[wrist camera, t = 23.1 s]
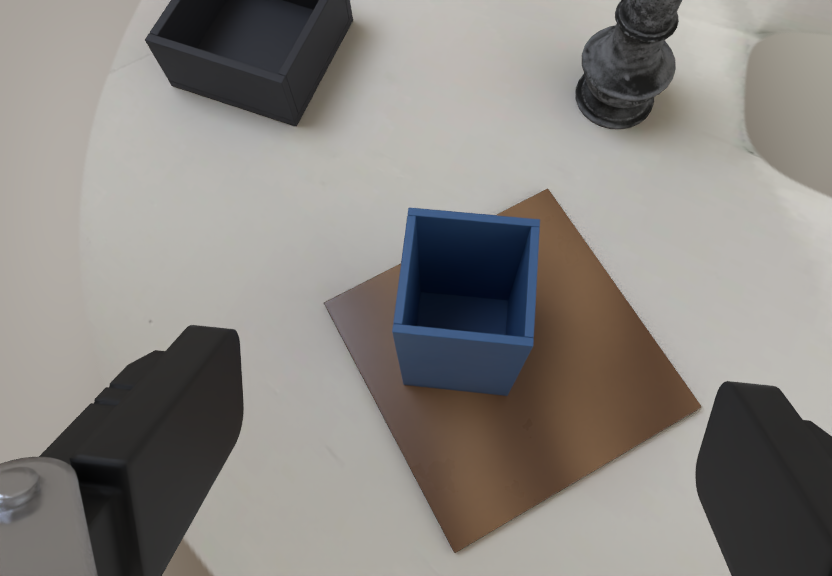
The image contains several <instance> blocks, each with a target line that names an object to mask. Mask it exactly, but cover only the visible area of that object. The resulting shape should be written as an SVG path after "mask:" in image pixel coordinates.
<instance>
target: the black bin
mask: <svg viewBox="0 0 832 576" xmlns="http://www.w3.org/2000/svg"><path fill="white" fill-rule="evenodd" d="M352 21H353V17H352V11H351V5H350V0H171V1H170V3H169V4H168V6H167V7H166V9H165V10H164V12H163V13H162V15H161V16H160V18H159V19H158V21H157V22H156V24H155V25H154V27H153V28H152V30H151V31H150V34H148V36H147V37H146V39H145V41H146V43H147V44H148V46H149V48H150V49H151V51H152V53H153V55H154V56H155V58H156V60H157V61H158V63H159V65H160V66H161V68H162V70H163V72H164V73H165V75H166V77H167V78H168V80H169V82H170V83H171V85H172V86H175V87H178V88H181V89H184V90H187V91H190V92H193V93H196V94H199V95H202V96H205V97H208V98H211V99H214V100H217V101H220V102H223V103H227V104H230V105H233V106H236V107H239V108H242V109H245V110H248V111H251V112H254V113H257V114H260V115H263V116H266V117H269V118H272V119H275V120H278V121H281V122H284V123H288V124H291V125H294V126H297V124H298V122H299V120H300V119H301V117H302V115H303V113H304V111H305V109H306V107H307V105H308V104H309V102H310V100H311V98H312V96H313V94H314V92H315V90H316V89H317V87H318V85H319V83H320V81H321V79H322V77H323V76H324V74H325V72H326V70H327V68H328V66H329V64H330V62H331V61H332V59H333V57H334V55H335V53H336V51H337V49H338V47H339V46H340V44H341V42H342V40H343V38H344V36H345V34H346V32H347V31H348V29H349V27H350V25H351V23H352Z"/></svg>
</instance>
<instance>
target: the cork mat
mask: <svg viewBox="0 0 832 576" xmlns="http://www.w3.org/2000/svg"><path fill="white" fill-rule="evenodd" d="M497 216H508V217H519V218H530V219H540V227H539V228H540V232H539V251H538V269H537V288H536V306H535V325H534V343H533V348H532V350H531V351H530V353H529V355H528V357H527V359H526V361H525V363H524V365H523V367H522V369H521V371H520V373H519V375H518V376H517V378H516V380H515V382H514V384H513V386H512V388H511V390H510V392H509V394H508V396H503V395H494V394H485V393H475V392H466V391H457V390H447V389H438V388H429V387H420V386H410V385H404V384H403V380H402V375H401V371H400V366H399V361H398V357H397V352H396V347H395V343H394V338H393V333H392V328H393V321H394V313H395V306H396V298H397V291H398V283H399V276H400V268H401V264H399V265H397V266H395V267H393V268H391V269H389V270H387V271H385V272H383V273H381V274H379V275H377V276H375V277H373V278H372V279H370V280H368V281H366V282H364V283H362V284H360V285H358V286H356V287H354V288H352V289H350V290H348V291H346V292H344V293H342V294H340V295H338V296H336V297H334V298H332V299H330V300H328V301H326V302H325V303H324V304H325V306H326V308H327V310H328V312H329V314H330V316H331V318H332V320H333V322H334V324H335V325H336V327H337V329H338V331H339V333H340V335H341V337H342V339H343V341H344V343H345V345H346V346H347V348H348V350H349V352H350V354H351V356H352V358H353V360H354V362H355V364H356V366H357V368H358V369H359V371H360V373H361V375H362V377H363V379H364V381H365V383H366V385H367V387H368V389H369V390H370V392H371V394H372V396H373V398H374V400H375V402H376V404H377V406H378V408H379V410H380V411H381V413H382V415H383V417H384V419H385V421H386V423H387V425H388V427H389V429H390V431H391V433H392V434H393V436H394V438H395V440H396V442H397V444H398V446H399V448H400V450H401V452H402V454H403V455H404V457H405V459H406V461H407V463H408V465H409V467H410V469H411V471H412V473H413V475H414V477H415V478H416V480H417V482H418V484H419V486H420V488H421V490H422V492H423V494H424V496H425V498H426V499H427V501H428V503H429V505H430V507H431V509H432V511H433V513H434V515H435V517H436V519H437V520H438V522H439V524H440V526H441V528H442V530H443V532H444V534H445V536H446V538H447V540H448V542H449V543H450V545H451V547H452V549H453V551H454V552H455V553H456V552H458V551H459V550H461V549H463V548H464V547H466V546H468V545H469V544H471V543H473V542H474V541H476V540H478V539H479V538H481V537H483V536H485V535H486V534H488V533H490V532H491V531H493V530H495V529H496V528H498V527H500V526H501V525H503V524H505V523H507V522H508V521H510V520H512V519H513V518H515V517H517V516H518V515H520V514H522V513H523V512H525V511H527V510H529V509H530V508H532V507H534V506H535V505H537V504H539V503H540V502H542V501H544V500H545V499H547V498H549V497H551V496H552V495H554V494H556V493H557V492H559V491H561V490H562V489H564V488H566V487H567V486H569V485H571V484H573V483H574V482H576V481H578V480H579V479H581V478H583V477H584V476H586V475H588V474H589V473H591V472H593V471H595V470H596V469H598V468H600V467H601V466H603V465H605V464H606V463H608V462H610V461H611V460H613V459H615V458H617V457H618V456H620V455H622V454H623V453H625V452H627V451H628V450H630V449H632V448H633V447H635V446H637V445H638V444H640V443H642V442H644V441H645V440H647V439H649V438H650V437H652V436H654V435H655V434H657V433H659V432H660V431H662V430H664V429H666V428H667V427H669V426H671V425H672V424H674V423H676V422H677V421H679V420H681V419H682V418H684V417H686V416H688V415H689V414H691V413H693V412H694V411H696V410H698V409H699V408H701V405H700V404H699V402H698V401H697V399H696V398H695V396H694V395H693V394H692V392H691V391H690V389H689V388H688V387H687V385H686V384H685V382H684V381H683V379H682V378H681V377H680V375H679V374H678V372H677V371H676V370H675V368H674V367H673V365H672V364H671V362H670V361H669V360H668V358H667V357H666V355H665V354H664V353H663V351H662V350H661V348H660V347H659V345H658V344H657V343H656V341H655V340H654V338H653V337H652V336H651V334H650V333H649V331H648V330H647V328H646V327H645V326H644V324H643V323H642V321H641V320H640V318H639V317H638V316H637V314H636V313H635V311H634V310H633V309H632V307H631V306H630V304H629V303H628V301H627V300H626V299H625V297H624V296H623V294H622V293H621V292H620V290H619V289H618V287H617V286H616V284H615V283H614V282H613V280H612V279H611V277H610V276H609V275H608V273H607V272H606V270H605V269H604V267H603V266H602V265H601V263H600V262H599V260H598V259H597V258H596V256H595V255H594V253H593V252H592V250H591V249H590V248H589V246H588V245H587V243H586V242H585V241H584V239H583V238H582V236H581V235H580V233H579V232H578V231H577V229H576V228H575V226H574V225H573V224H572V222H571V221H570V219H569V218H568V216H567V215H566V214H565V212H564V211H563V209H562V208H561V206H560V205H559V204H558V202H557V201H556V199H555V198H554V197H553V195H552V194H551V192H550V191H549V189H546V190H544V191H542V192H540V193H538V194H536V195H534V196H532V197H530V198H528V199H526V200H524V201H522V202H521V203H519V204H517V205H515V206H513V207H511V208H509V209H507V210H505V211H503V212H501V213H499V214H497Z"/></svg>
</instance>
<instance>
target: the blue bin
mask: <svg viewBox="0 0 832 576" xmlns="http://www.w3.org/2000/svg"><path fill="white" fill-rule="evenodd" d="M539 227H540V219H530V218H519V217H508V216H497V215H486V214H474V213H463V212H452V211H441V210H430V209H419V208H409V209H408V216H407V223H406V231H405V238H404V246H403V253H402V261H401V268H400V276H399V283H398V291H397V298H396V306H395V313H394V321H393V328H392V333H393V338H394V343H395V347H396V352H397V357H398V361H399V366H400V371H401V375H402V380H403V384H404V385H410V386H420V387H429V388H438V389H447V390H457V391H466V392H475V393H485V394H494V395H503V396H508V394H509V392H510V390H511V388H512V386H513V384H514V382H515V380H516V378H517V376H518V375H519V373H520V371H521V369H522V367H523V365H524V363H525V361H526V359H527V357H528V355H529V353H530V351H531V350H532V348H533V343H534V325H535V306H536V288H537V269H538V251H539V232H540V228H539Z"/></svg>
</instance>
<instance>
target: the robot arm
mask: <svg viewBox="0 0 832 576" xmlns="http://www.w3.org/2000/svg"><path fill="white" fill-rule="evenodd" d="M243 410H244V407H243V388H242V372H241V355H240V341H239V336H238V333H237V332H236V330H234V329H226V328H216V327H206V326H197V325H190V326H188V327H187V328H186V329H185V330H184V331H183V332H182V333H181V335H180V336H179V337H178V338H177V339H176V340H175V341H174V342H173V343H172V345H171V346H170V347H169V348H168V349H167V350H166V351H158V350H155V351H153V352H151V353H149V354H147V355H146V356H144V357H142V358H140V359H138V360H136V361H134V362H133V363H131V364H129V365H127V366H126V367H125V368H124V369H123V371H122V372H121V373H120V374H119V375H118V376H117V377H116V378H115V379H114V380H113V381H112V382H111V383H110V386H109V388H107V387H106V388H105V389H104V390H103V391H102V392H101V393H100V394H99V395H98V396H97V397H96V398H95V402H94V404H92V403H91V404H90V405H89V406H88V407H87V408H86V409H85V410H84V411H83V412H82V413H81V414H80V415H79V416H78V417H77V418H76V419H75V420H74V421H73V422H72V423H71V424H70V425H69V427H67V428H66V429H65V430H64V431H63V432H62V433H61V435H60V436H59V437H58V438H57V439H56V440H55V441H54V442H53V443H52V444H51V445H50V446H49V447H48V448H47V449H46V450H45V451H44V452H43V453H42V454H41V455H40V456H39V457H28V458H20V459H16V460H11V461H8V462H4V463H1V464H0V576H162V574H163V572H164V571H165V569H166V567H167V565H168V563H169V562H170V560H171V558H172V556H173V555H174V553H175V551H176V549H177V547H178V546H179V544H180V542H181V540H182V539H183V537H184V535H185V533H186V531H187V530H188V528H189V526H190V524H191V523H192V521H193V519H194V517H195V515H196V514H197V512H198V510H199V508H200V506H201V505H202V503H203V501H204V499H205V498H206V496H207V494H208V492H209V490H210V489H211V487H212V485H213V483H214V481H215V480H216V478H217V476H218V474H219V473H220V471H221V469H222V467H223V465H224V464H225V462H226V460H227V458H228V456H229V455H230V453H231V451H232V449H233V448H234V446H235V444H236V442H237V439H238V437H239V434H240V430H241V426H242V420H243ZM696 487H697V492H698V496H699V499H700V501H701V504H702V506H703V509H704V511H705V513H706V516H707V518H708V521H709V523H710V525H711V528H712V530H713V532H714V535H715V537H716V540H717V542H718V544H719V547H720V549H721V552H722V554H723V556H724V559H725V561H726V564H727V566H728V568H729V571H730V573H731V575H732V576H832V436H830V435H829V434H828V433H826V432H825V431H824V430H822V429H821V428H820V427H818V426H817V425H816V424H814V423H813V422H811V421H807V420H802V418H801V417H800V416H799V414H798V413H797V412H796V410H795V409H794V408H793V406H792V405H791V403H790V402H789V401H788V399H787V398H786V397H785V395H784V394H783V393H782V391H781V390H780V389H779V388H777V387H775V386H769V385H759V384H749V383H740V382H730V381H727V382H724V383H723V384H722V385H721V386H720V388H719V390H718V392H717V395H716V398H715V401H714V404H713V408H712V411H711V414H710V418H709V421H708V424H707V428H706V431H705V434H704V438H703V441H702V444H701V448H700V451H699V454H698V458H697V463H696Z"/></svg>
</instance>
